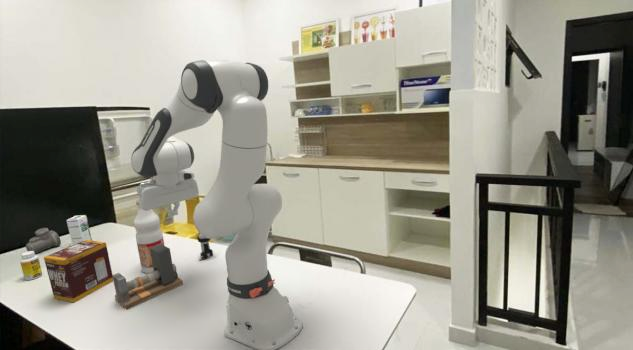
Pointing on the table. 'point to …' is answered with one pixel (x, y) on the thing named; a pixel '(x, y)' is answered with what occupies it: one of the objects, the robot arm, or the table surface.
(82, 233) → the syrup box
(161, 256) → the dark grey upright block
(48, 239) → the pipe fitting
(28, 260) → the supplement bottle
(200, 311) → the table surface
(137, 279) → the pipe rig
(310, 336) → the table surface
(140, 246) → the fruit juice
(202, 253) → the push button
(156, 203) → the robot arm
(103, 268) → the supplement box
